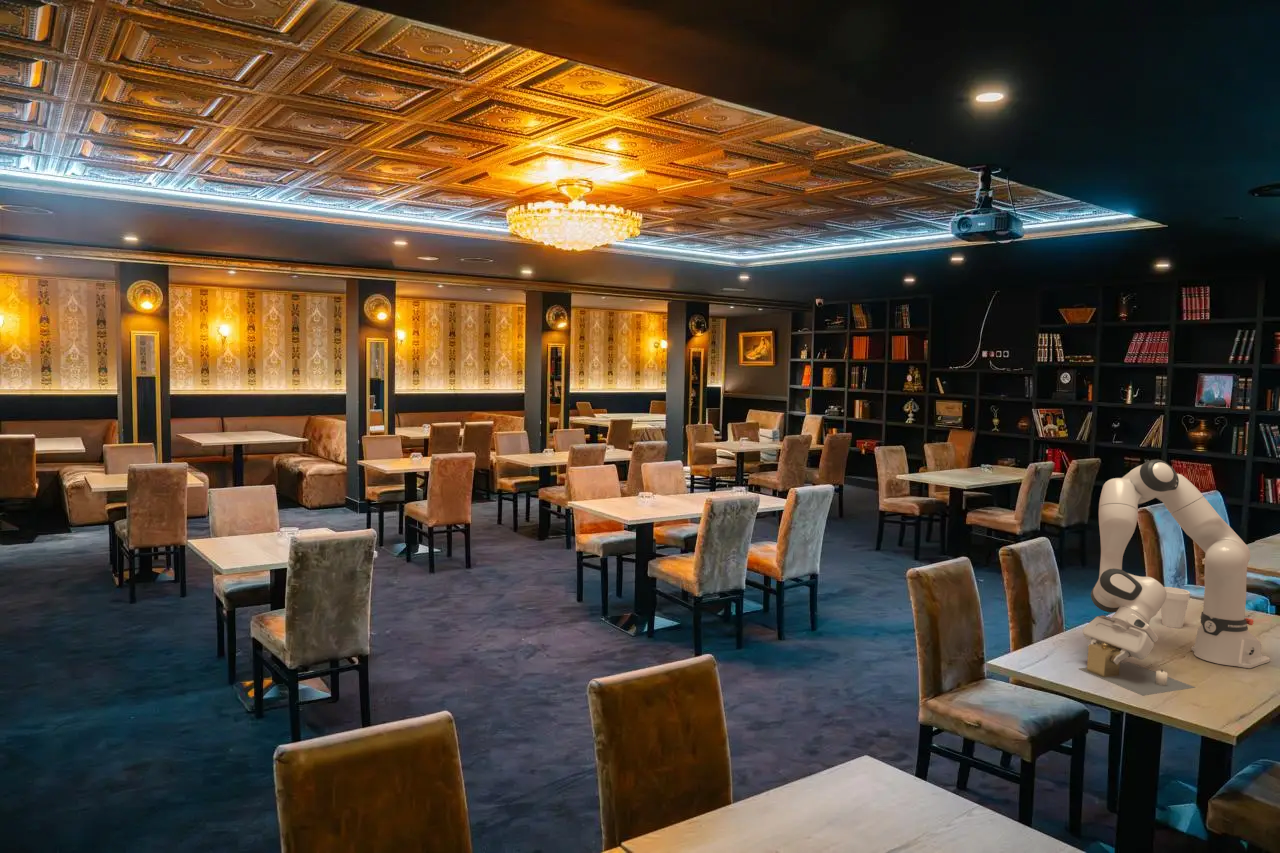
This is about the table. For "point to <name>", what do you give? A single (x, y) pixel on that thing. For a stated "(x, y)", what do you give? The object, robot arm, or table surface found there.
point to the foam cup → (1175, 607)
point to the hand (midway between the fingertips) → (1102, 658)
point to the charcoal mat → (1141, 680)
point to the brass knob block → (1102, 659)
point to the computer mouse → (1161, 678)
